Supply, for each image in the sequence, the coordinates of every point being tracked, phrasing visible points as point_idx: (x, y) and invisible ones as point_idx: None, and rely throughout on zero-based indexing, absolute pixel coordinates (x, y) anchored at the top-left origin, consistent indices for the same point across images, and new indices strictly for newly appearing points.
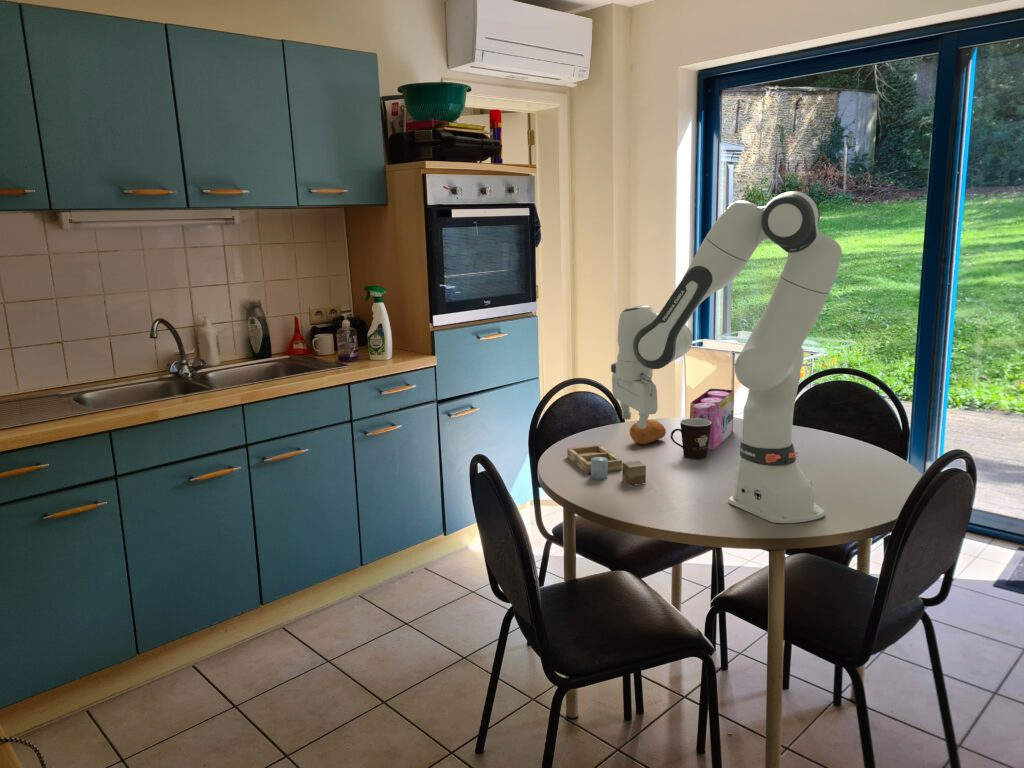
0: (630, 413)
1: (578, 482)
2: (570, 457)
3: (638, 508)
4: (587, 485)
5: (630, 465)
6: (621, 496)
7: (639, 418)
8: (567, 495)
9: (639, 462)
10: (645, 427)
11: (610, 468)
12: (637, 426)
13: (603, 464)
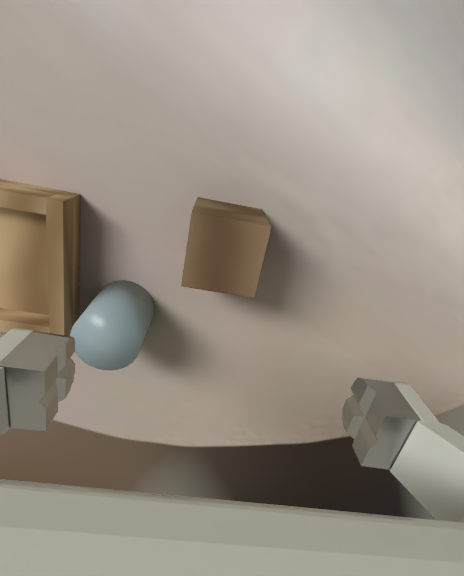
0: (50, 370)
1: (143, 376)
2: None
3: (413, 347)
4: (179, 368)
5: (235, 281)
6: (312, 337)
7: (431, 510)
8: (224, 437)
9: (220, 226)
10: (405, 388)
11: (75, 245)
12: (344, 422)
13: (142, 336)
